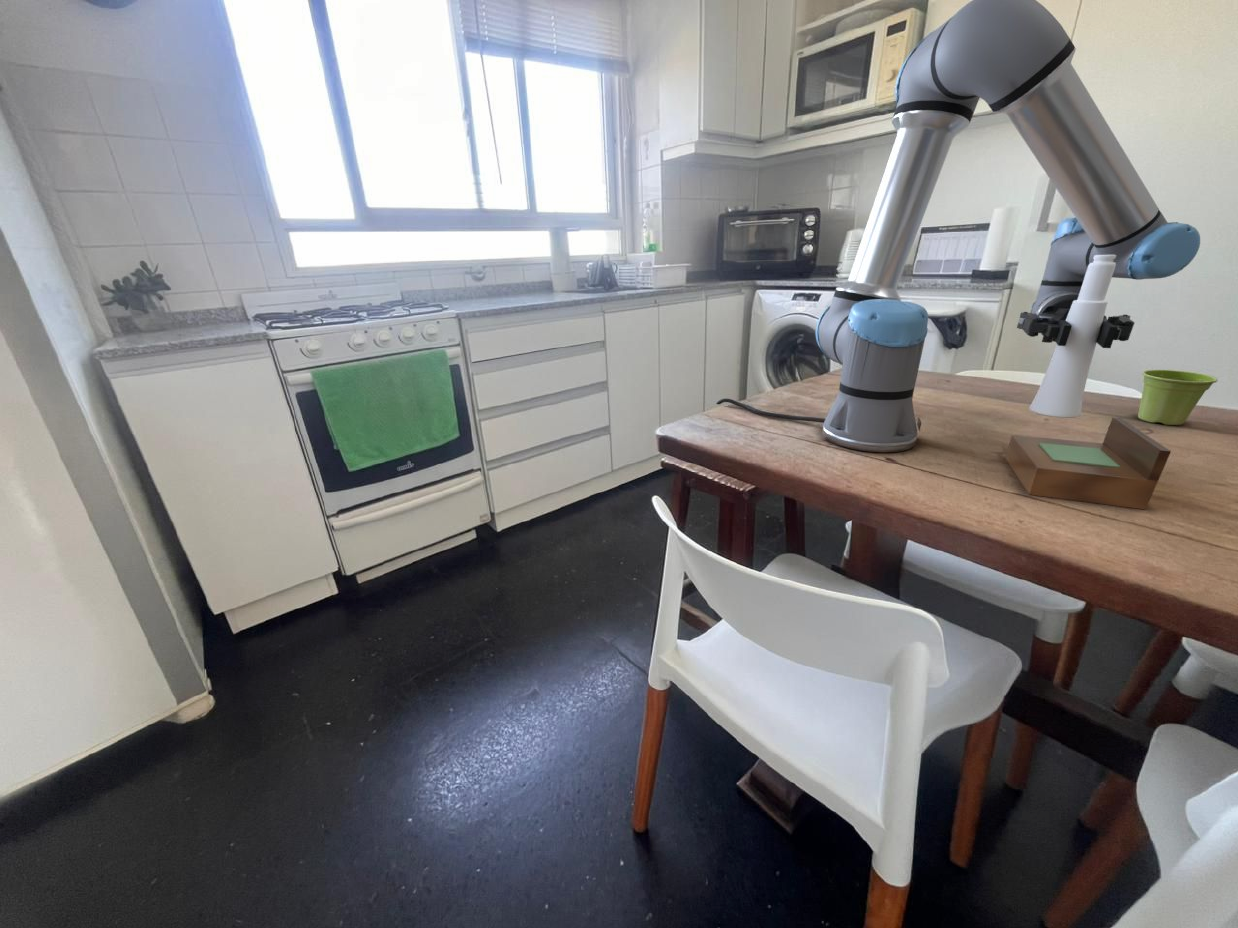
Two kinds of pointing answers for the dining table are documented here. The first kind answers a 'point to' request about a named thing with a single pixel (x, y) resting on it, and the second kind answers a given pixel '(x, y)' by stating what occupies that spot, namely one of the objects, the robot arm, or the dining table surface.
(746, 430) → the dining table surface
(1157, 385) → the plant pot
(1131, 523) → the dining table surface
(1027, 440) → the wooden block green inlay
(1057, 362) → the cosmetic bottle
